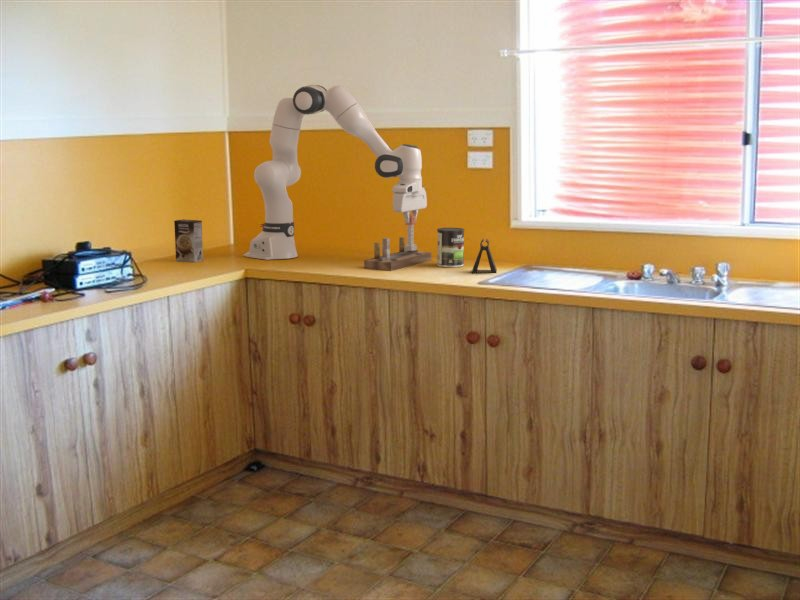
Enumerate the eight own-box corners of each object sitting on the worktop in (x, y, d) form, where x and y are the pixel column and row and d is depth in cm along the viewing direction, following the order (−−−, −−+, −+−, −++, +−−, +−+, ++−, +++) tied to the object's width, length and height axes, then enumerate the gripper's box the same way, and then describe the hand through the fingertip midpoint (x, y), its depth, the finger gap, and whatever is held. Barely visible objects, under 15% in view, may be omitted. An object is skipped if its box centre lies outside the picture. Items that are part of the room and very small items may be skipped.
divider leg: (404, 250, 386) (404, 214, 384) (409, 249, 390) (409, 213, 387) (411, 251, 385) (411, 215, 382) (416, 249, 388) (416, 214, 385)
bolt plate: (364, 268, 371) (364, 239, 369) (405, 257, 396) (405, 230, 394) (391, 270, 365) (391, 241, 363) (431, 260, 390) (431, 232, 388)
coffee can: (469, 265, 376) (469, 229, 373) (450, 268, 370) (450, 231, 367) (450, 262, 384) (451, 226, 381) (431, 265, 377) (431, 228, 374)
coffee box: (175, 261, 389) (173, 220, 386) (184, 258, 395) (182, 218, 392) (194, 262, 386) (193, 221, 383) (203, 260, 392) (202, 219, 389)
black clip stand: (496, 271, 364) (497, 238, 362) (496, 273, 358) (496, 241, 356) (472, 270, 365) (472, 238, 363) (471, 273, 359) (471, 240, 357)
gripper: (417, 184, 393) (417, 218, 395) (389, 188, 376) (390, 224, 378) (430, 185, 389) (430, 219, 392) (403, 188, 372) (404, 225, 375)
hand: (410, 222), depth 385 cm, fingers closed on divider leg, 3 cm apart
